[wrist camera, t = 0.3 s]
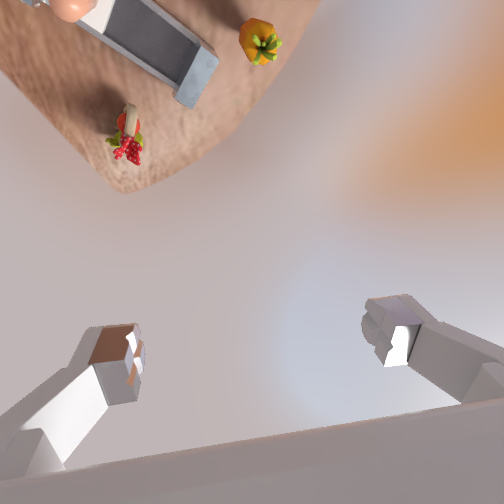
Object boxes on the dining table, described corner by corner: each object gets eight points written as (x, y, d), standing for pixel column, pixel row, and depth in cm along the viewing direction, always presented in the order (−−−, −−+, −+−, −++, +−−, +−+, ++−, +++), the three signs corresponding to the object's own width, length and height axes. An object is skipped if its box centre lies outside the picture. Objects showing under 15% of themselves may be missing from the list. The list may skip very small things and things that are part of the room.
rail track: (35, -96, 33) (11, -106, 28) (214, 49, 47) (220, 60, 41) (19, -16, 37) (-4, -11, 32) (188, 96, 51) (191, 112, 46)
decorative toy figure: (109, 99, 50) (104, 153, 53) (103, 92, 41) (97, 157, 43) (147, 111, 53) (140, 161, 56) (150, 106, 43) (141, 167, 46)
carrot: (234, 52, 47) (253, 79, 37) (228, 14, 44) (247, 32, 34) (263, 45, 48) (290, 70, 37) (259, 6, 44) (288, 22, 34)
